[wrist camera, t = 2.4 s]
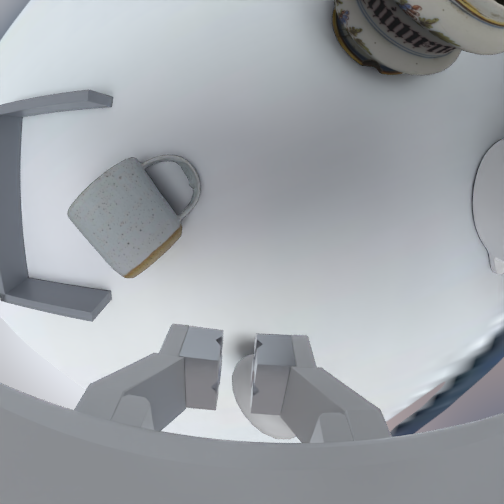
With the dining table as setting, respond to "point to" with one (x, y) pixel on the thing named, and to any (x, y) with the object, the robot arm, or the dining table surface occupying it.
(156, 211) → the ceramic mug
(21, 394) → the robot arm
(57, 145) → the dining table surface
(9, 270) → the box
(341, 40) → the apothecary jar
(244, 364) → the donut
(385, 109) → the dining table surface
